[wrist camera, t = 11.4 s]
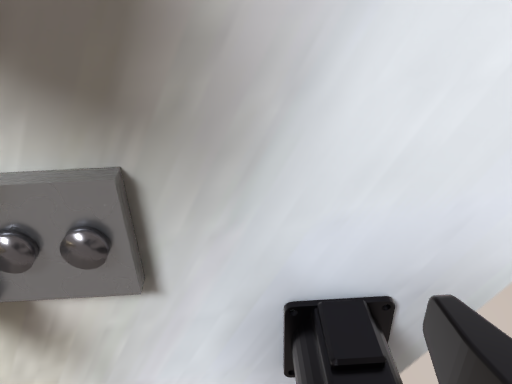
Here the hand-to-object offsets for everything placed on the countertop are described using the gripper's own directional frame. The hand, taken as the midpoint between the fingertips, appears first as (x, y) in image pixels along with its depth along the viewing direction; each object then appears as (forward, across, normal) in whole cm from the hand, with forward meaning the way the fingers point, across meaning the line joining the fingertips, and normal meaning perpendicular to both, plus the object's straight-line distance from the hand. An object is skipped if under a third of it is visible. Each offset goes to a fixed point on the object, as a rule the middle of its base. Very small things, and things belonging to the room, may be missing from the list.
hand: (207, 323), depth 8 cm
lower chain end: (+12, +12, +6) cm, 18 cm away
